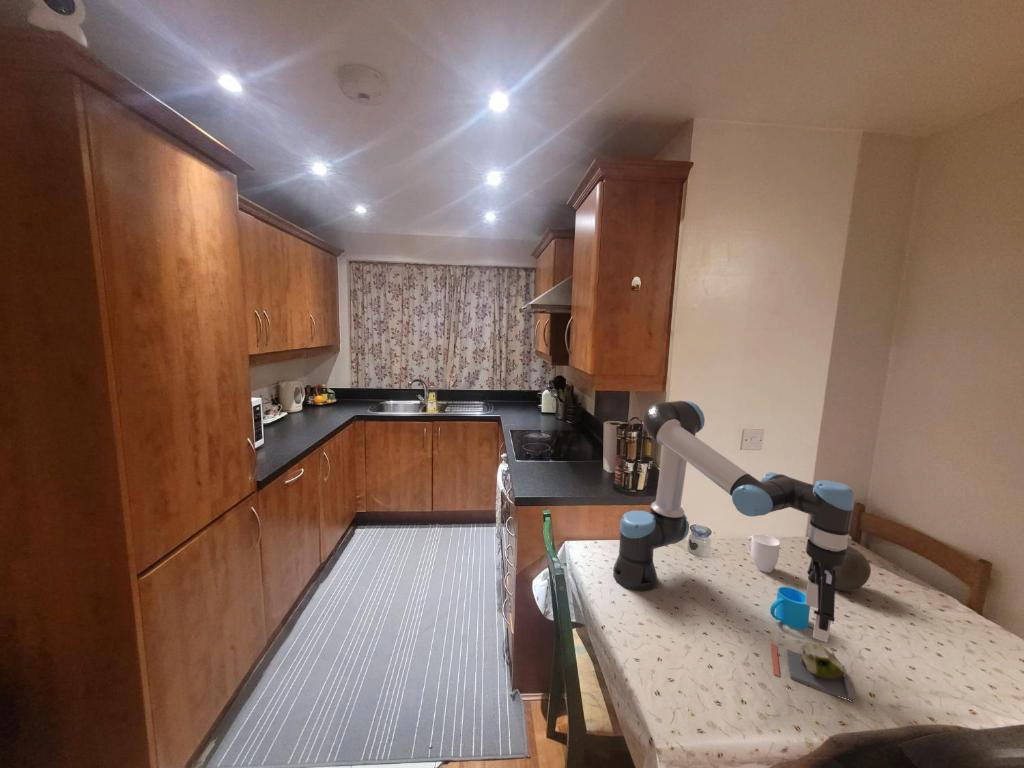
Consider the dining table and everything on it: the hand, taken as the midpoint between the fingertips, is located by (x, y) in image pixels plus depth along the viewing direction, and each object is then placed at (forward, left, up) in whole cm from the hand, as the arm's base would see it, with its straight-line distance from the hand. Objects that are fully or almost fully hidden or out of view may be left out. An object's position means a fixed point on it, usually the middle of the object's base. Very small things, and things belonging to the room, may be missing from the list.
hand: (815, 621), depth 96 cm
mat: (+1, 0, -14) cm, 14 cm away
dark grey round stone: (+14, +51, -14) cm, 55 cm away
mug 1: (-10, +50, -14) cm, 53 cm away
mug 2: (-4, +20, -14) cm, 25 cm away
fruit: (+2, 0, -13) cm, 13 cm away
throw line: (-8, 0, -14) cm, 16 cm away
